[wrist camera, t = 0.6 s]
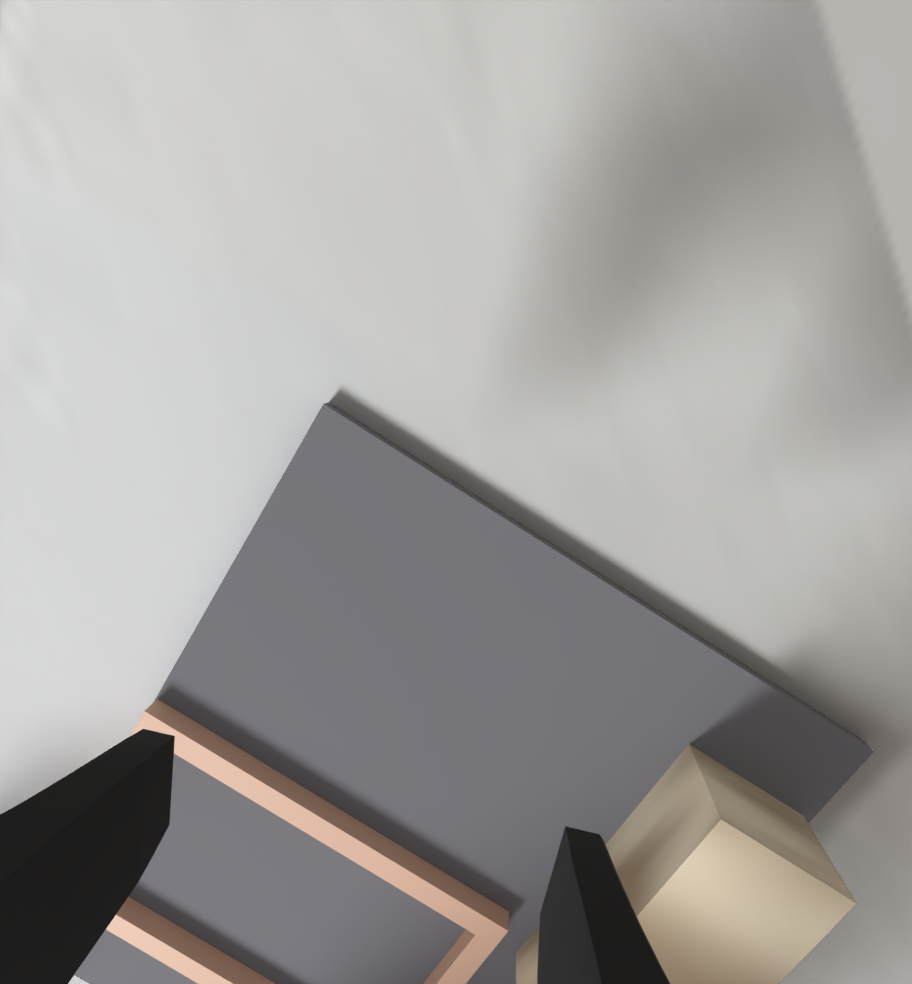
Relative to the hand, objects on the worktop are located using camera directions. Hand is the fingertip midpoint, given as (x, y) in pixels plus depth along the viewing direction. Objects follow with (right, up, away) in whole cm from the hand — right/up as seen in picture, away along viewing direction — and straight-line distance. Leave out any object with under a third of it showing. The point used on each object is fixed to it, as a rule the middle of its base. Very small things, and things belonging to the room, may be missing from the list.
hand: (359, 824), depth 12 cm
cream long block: (+8, -7, +11) cm, 15 cm away
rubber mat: (0, -6, +12) cm, 13 cm away
